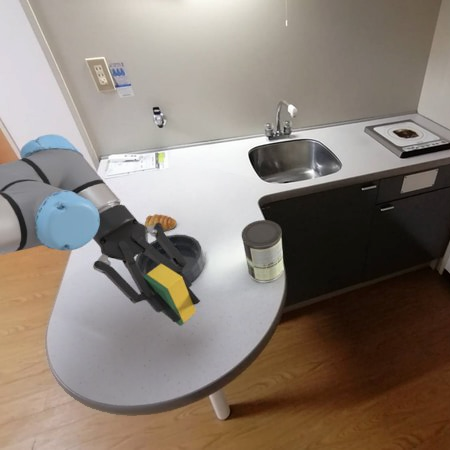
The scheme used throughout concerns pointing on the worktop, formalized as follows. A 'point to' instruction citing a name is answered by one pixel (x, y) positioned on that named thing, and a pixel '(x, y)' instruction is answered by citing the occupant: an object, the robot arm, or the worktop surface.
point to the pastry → (161, 221)
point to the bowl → (185, 247)
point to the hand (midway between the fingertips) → (187, 311)
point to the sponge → (171, 291)
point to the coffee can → (263, 250)
